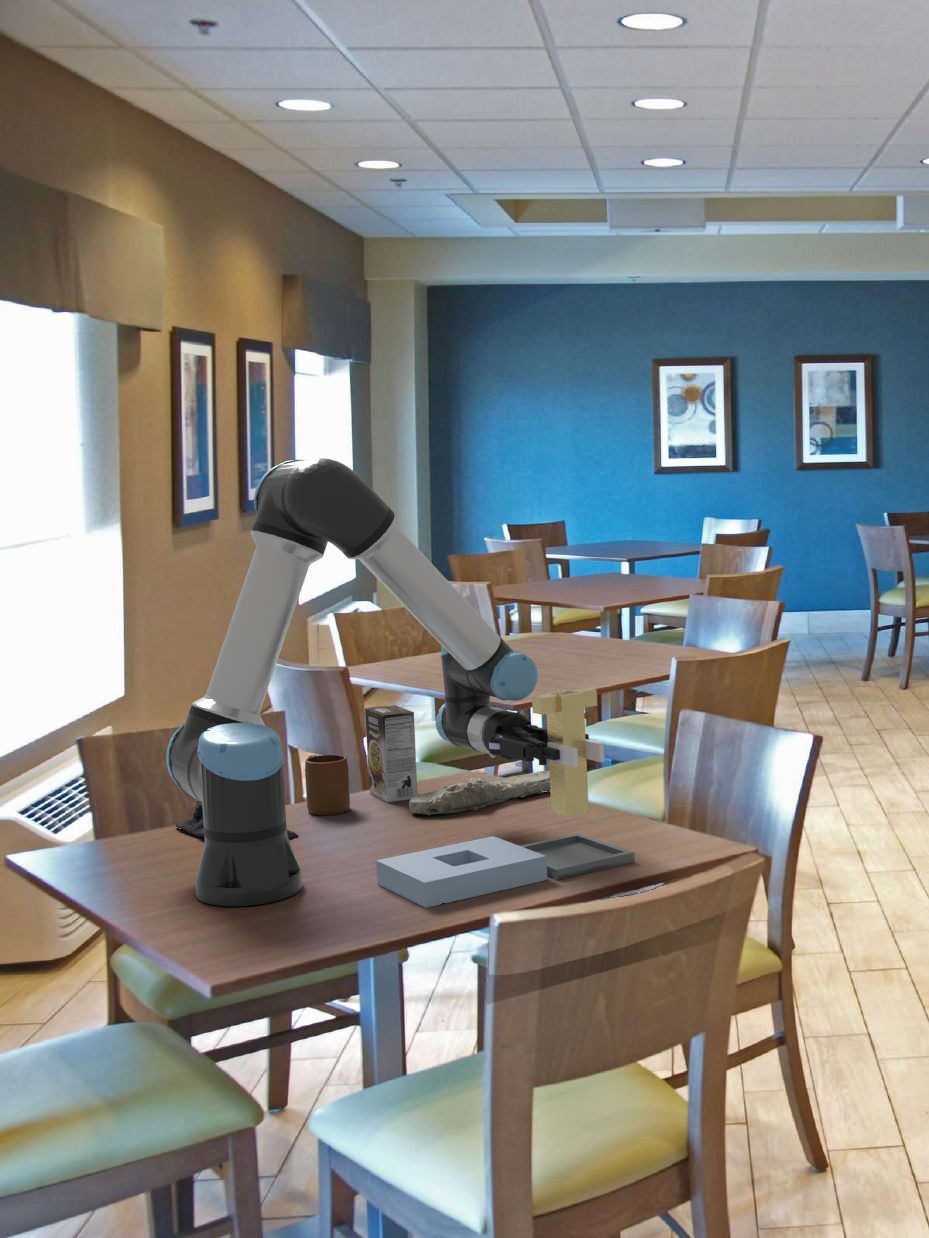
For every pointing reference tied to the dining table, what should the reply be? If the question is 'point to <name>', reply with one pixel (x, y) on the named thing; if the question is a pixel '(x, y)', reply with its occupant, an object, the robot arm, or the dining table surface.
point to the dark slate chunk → (197, 824)
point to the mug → (327, 784)
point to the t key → (568, 731)
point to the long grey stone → (479, 793)
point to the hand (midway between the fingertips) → (588, 755)
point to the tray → (579, 855)
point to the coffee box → (391, 753)
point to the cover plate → (461, 871)
